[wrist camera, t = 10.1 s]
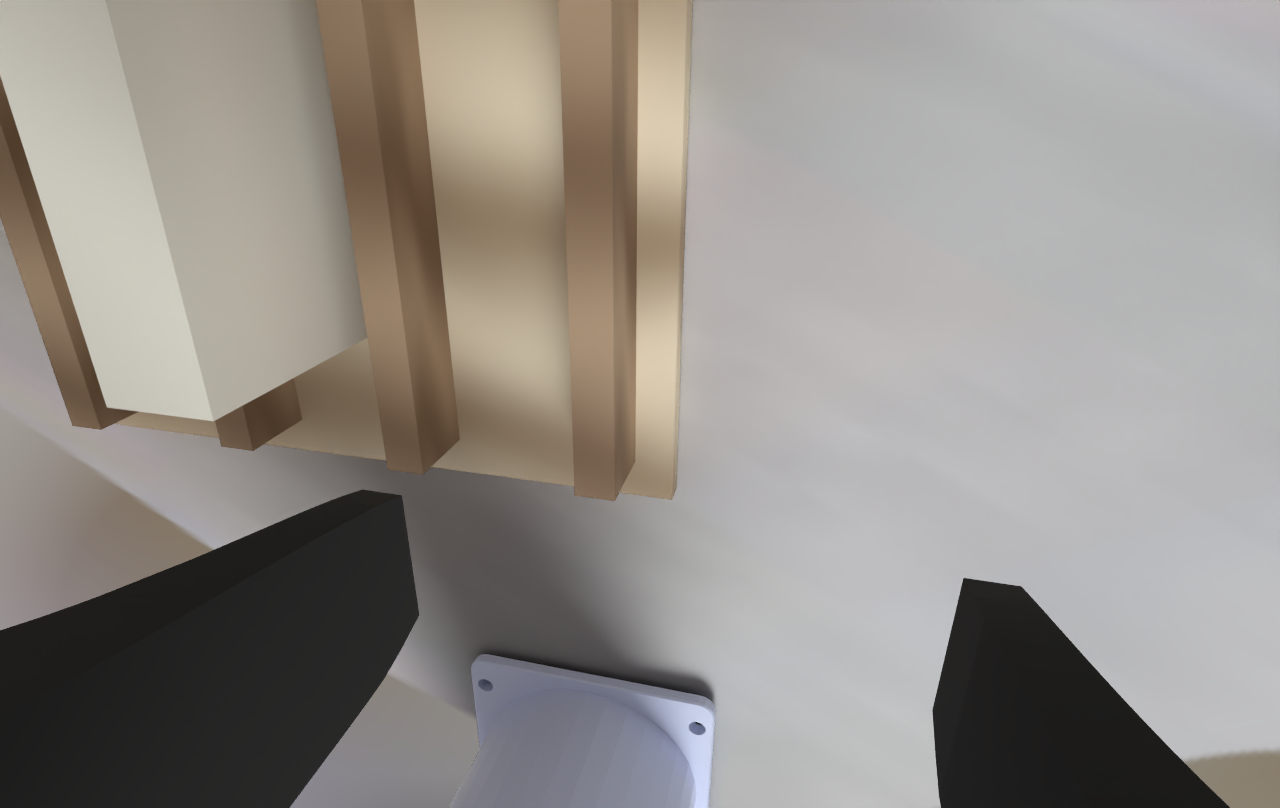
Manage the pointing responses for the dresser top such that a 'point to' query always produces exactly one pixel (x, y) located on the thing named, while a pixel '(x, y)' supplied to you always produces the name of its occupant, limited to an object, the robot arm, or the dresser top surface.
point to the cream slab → (188, 191)
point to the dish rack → (472, 247)
